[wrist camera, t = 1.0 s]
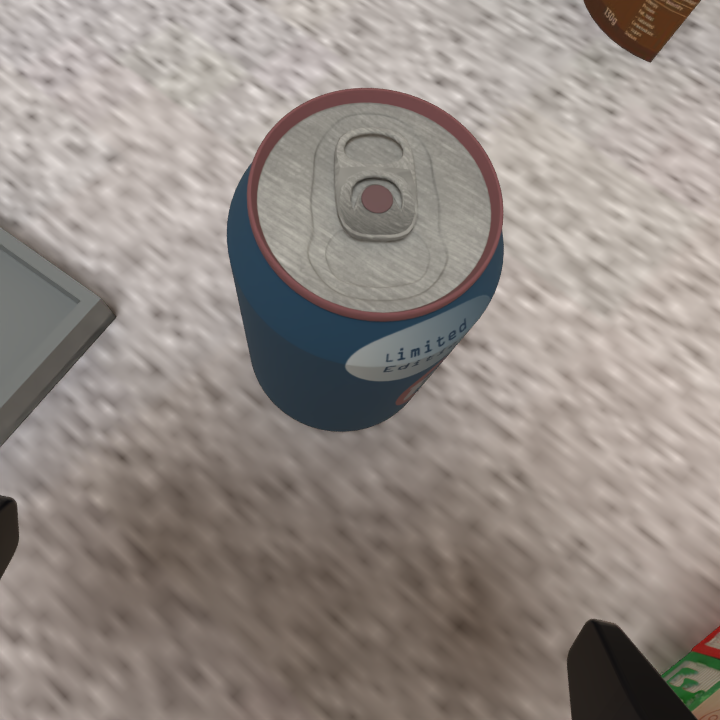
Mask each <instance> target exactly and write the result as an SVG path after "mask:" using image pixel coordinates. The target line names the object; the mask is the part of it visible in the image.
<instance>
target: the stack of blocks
mask: <svg viewBox="0 0 720 720" xmlns="http://www.w3.org/2000/svg"><path fill="white" fill-rule="evenodd" d="M661 677H662V678H663V679H664V680H665V681H666V682H667V684H668V685H669V686H670V687H671V688H672V690H673V691H674V692H675V693H676V694H677V695H678V697H679V698H680V699H681V700H682V701H683V703H684V704H685V705H686V706H687V707H688V708H689V710H690V711H691V712H692V713H693V714H694V715H695V717H696V718H697V719H698V720H720V626H719V627H718V628H717V629H716V630H714V631H713V632H712V633H711V634H710V635H708V636H707V637H706V638H705V639H704V640H702V641H701V642H700V643H699V644H697V645H696V646H695V647H694V648H693V649H692V651H691V652H690V653H689V654H687V655H686V656H685V657H684V658H683V659H681V660H680V661H679V662H678V663H676V664H675V665H674V666H673V667H671V668H670V669H669V670H668V671H666V672H665V673H664V674H663V675H661Z"/></svg>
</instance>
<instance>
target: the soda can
mask: <svg viewBox="0 0 720 720" xmlns="http://www.w3.org/2000/svg"><path fill="white" fill-rule="evenodd" d="M502 225H503V199H502V193H501V188H500V185H499V181H498V178H497V175H496V172H495V170H494V167H493V165H492V163H491V161H490V159H489V157H488V155H487V154H486V152H485V151H484V149H483V148H482V146H481V145H480V143H479V142H478V141H477V140H476V138H475V137H474V136H473V135H472V134H471V133H470V132H469V131H468V130H467V129H466V128H465V127H464V126H463V125H462V124H461V123H460V122H459V121H457V120H456V119H455V118H454V117H452V116H451V115H450V114H448V113H447V112H445V111H444V110H442V109H440V108H439V107H437V106H435V105H433V104H431V103H429V102H427V101H425V100H422V99H420V98H418V97H415V96H412V95H409V94H405V93H402V92H397V91H393V90H386V89H378V88H354V89H345V90H340V91H335V92H331V93H327V94H324V95H321V96H318V97H316V98H313V99H311V100H309V101H307V102H305V103H303V104H301V105H300V106H298V107H296V108H295V109H293V110H292V111H291V112H289V113H288V114H287V115H285V116H284V117H283V118H282V119H281V120H280V121H279V122H278V123H277V124H276V125H275V126H274V127H273V128H272V129H271V130H270V132H269V133H268V134H267V135H266V137H265V138H264V140H263V141H262V143H261V145H260V146H259V148H258V150H257V152H256V154H255V157H254V159H253V162H252V163H251V164H250V166H249V167H248V169H247V170H246V172H245V173H244V175H243V176H242V178H241V180H240V182H239V184H238V186H237V188H236V190H235V193H234V196H233V199H232V202H231V206H230V210H229V215H228V221H227V245H228V253H229V258H230V263H231V268H232V272H233V277H234V282H235V287H236V291H237V296H238V301H239V305H240V310H241V315H242V320H243V324H244V329H245V334H246V338H247V343H248V348H249V353H250V357H251V362H252V366H253V369H254V372H255V375H256V377H257V379H258V381H259V384H260V385H261V387H262V389H263V390H264V392H265V393H266V394H267V396H268V397H269V398H270V399H271V401H272V402H273V403H274V404H275V405H276V406H277V407H278V408H280V409H281V410H282V411H283V412H284V413H286V414H287V415H289V416H290V417H292V418H293V419H295V420H297V421H299V422H301V423H303V424H305V425H308V426H311V427H314V428H318V429H321V430H327V431H340V432H344V431H355V430H360V429H365V428H368V427H371V426H374V425H376V424H379V423H381V422H383V421H385V420H387V419H388V418H390V417H391V416H393V415H394V414H396V413H397V412H398V411H399V410H400V409H402V408H403V407H404V406H405V405H406V404H407V403H408V401H409V400H410V399H411V398H412V397H413V396H414V394H415V393H416V392H417V391H418V390H419V389H420V387H421V386H422V385H423V384H424V383H425V381H426V380H427V379H428V378H429V377H430V376H431V374H432V373H433V372H434V371H435V370H436V369H437V367H438V366H439V365H440V364H441V363H442V362H443V360H444V359H445V358H446V357H447V356H448V355H449V353H450V352H451V351H452V350H453V349H454V348H455V346H456V345H457V344H458V343H459V342H460V340H461V339H462V338H463V337H464V336H465V335H466V333H467V332H468V331H469V330H470V329H471V328H472V326H473V325H474V324H475V323H476V322H477V321H478V319H479V318H480V317H481V315H482V314H483V313H484V311H485V310H486V308H487V306H488V305H489V303H490V301H491V299H492V297H493V295H494V293H495V290H496V288H497V285H498V282H499V279H500V275H501V271H502V265H503V255H504V244H503V233H502Z"/></svg>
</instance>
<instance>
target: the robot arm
mask: <svg viewBox="0 0 720 720" xmlns="http://www.w3.org/2000/svg"><path fill="white" fill-rule="evenodd" d="M18 542H19V526H18V512H17V503H16V501H15V500H14V499H13V498H11V497H6V496H1V495H0V579H1V577H2V575H3V574H4V572H5V570H6V568H7V566H8V564H9V563H10V561H11V559H12V557H13V555H14V553H15V551H16V549H17V546H18ZM567 671H568V683H569V694H570V705H571V716H572V720H698V719H697V718H696V717H695V715H694V714H693V713H692V712H691V711H690V710H689V708H688V707H687V706H686V705H685V704H684V703H683V701H682V700H681V699H680V698H679V697H678V695H677V694H676V693H675V692H674V691H673V690H672V688H671V687H670V686H669V685H668V684H667V682H666V681H665V680H664V679H663V678H662V677H661V675H660V674H659V673H658V672H657V671H656V669H655V668H654V667H653V666H652V665H651V664H650V662H649V661H648V660H647V659H646V658H645V656H644V655H643V654H642V653H641V652H640V651H639V649H638V648H637V647H636V646H635V645H634V644H633V642H632V641H631V640H630V639H629V638H628V636H627V635H626V634H625V633H624V632H623V631H622V629H621V628H620V627H619V626H617V625H616V624H614V623H611V622H607V621H602V620H597V619H590V620H588V621H587V622H586V623H585V625H584V626H583V628H582V630H581V631H580V633H579V635H578V636H577V638H576V640H575V641H574V643H573V645H572V646H571V648H570V650H569V653H568V658H567Z"/></svg>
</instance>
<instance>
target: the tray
mask: <svg viewBox="0 0 720 720" xmlns="http://www.w3.org/2000/svg"><path fill="white" fill-rule="evenodd" d="M115 318H116V316H115V315H114V314H113V313H112V311H111V310H110V309H109V308H108V306H107V305H106V304H105V302H104V301H103V300H102V299H101V298H100V297H99V296H97V295H96V294H94V293H93V292H92V291H90V290H89V289H87V288H86V287H85V286H83V285H82V284H80V283H79V282H77V281H76V280H75V279H73V278H72V277H70V276H69V275H67V274H66V273H65V272H63V271H62V270H60V269H59V268H58V267H56V266H55V265H53V264H52V263H50V262H49V261H48V260H46V259H45V258H43V257H42V256H41V255H39V254H38V253H36V252H35V251H33V250H32V249H31V248H29V247H28V246H26V245H25V244H23V243H22V242H21V241H19V240H18V239H16V238H15V237H14V236H12V235H11V234H9V233H8V232H6V231H5V230H4V229H2V228H1V227H0V446H1V445H2V444H3V443H4V442H5V441H6V439H7V438H8V437H9V436H10V435H11V434H12V433H13V432H14V431H15V429H16V428H17V427H18V426H19V425H20V424H21V423H22V422H23V420H24V419H25V418H26V417H27V416H28V415H29V414H30V413H31V412H32V410H33V409H34V408H35V407H36V406H37V405H38V404H39V403H40V401H41V400H42V399H43V398H44V397H45V396H46V395H47V394H48V393H49V391H50V390H51V389H52V388H53V387H54V386H55V385H56V384H57V382H58V381H59V380H60V379H61V378H62V377H63V376H64V375H65V374H66V372H67V371H68V370H69V369H70V368H71V367H72V366H73V365H74V363H75V362H76V361H77V360H78V359H79V358H80V357H81V356H82V355H83V353H84V352H85V351H86V350H87V349H88V348H89V347H90V346H91V344H92V343H93V342H94V341H95V340H96V339H97V338H98V337H99V336H100V334H101V333H102V332H103V331H104V330H105V329H106V328H107V327H108V325H109V324H110V323H111V322H112V321H113V320H114V319H115Z"/></svg>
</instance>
